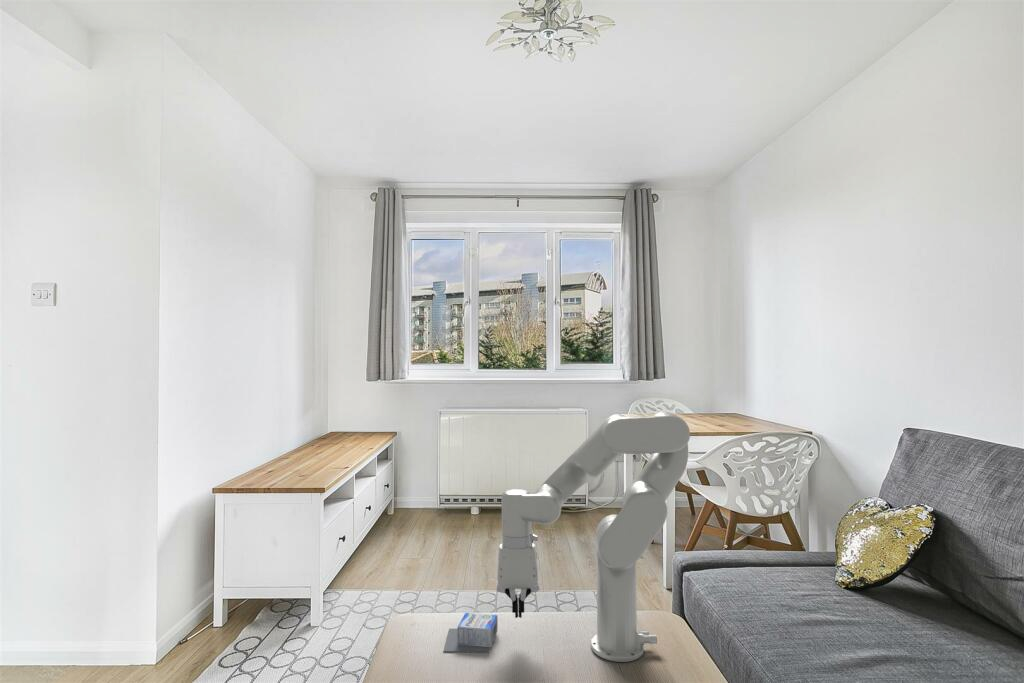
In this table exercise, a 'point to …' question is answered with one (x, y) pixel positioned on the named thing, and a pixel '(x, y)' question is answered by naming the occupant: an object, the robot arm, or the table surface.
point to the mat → (453, 645)
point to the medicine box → (477, 630)
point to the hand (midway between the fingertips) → (518, 615)
